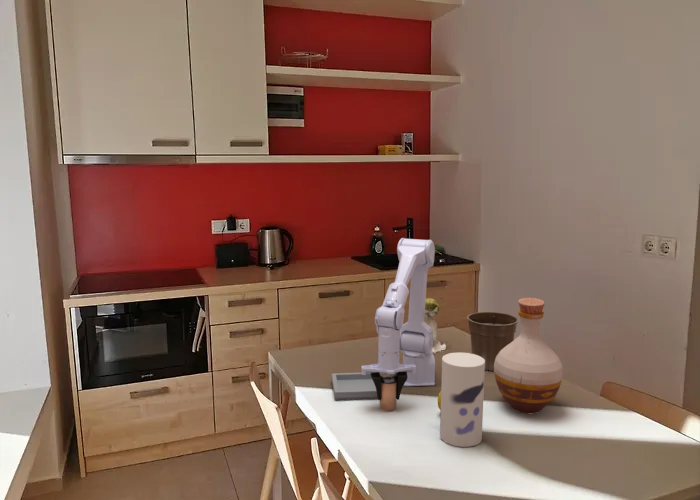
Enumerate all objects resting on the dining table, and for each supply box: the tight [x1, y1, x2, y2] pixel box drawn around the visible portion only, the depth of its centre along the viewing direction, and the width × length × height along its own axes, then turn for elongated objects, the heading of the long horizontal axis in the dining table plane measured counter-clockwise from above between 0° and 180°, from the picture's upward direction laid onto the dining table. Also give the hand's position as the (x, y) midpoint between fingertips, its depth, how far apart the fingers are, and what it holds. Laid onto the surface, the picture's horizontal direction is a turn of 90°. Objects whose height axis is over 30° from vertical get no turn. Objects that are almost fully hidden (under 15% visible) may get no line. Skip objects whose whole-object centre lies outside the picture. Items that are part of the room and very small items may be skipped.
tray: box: [331, 372, 378, 402], centre depth 166 cm, size 14×14×2 cm
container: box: [439, 352, 486, 448], centre depth 136 cm, size 10×10×20 cm
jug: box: [493, 297, 564, 414], centre depth 153 cm, size 20×18×30 cm
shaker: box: [379, 373, 397, 412], centre depth 153 cm, size 5×5×9 cm
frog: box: [419, 297, 447, 355], centre depth 202 cm, size 12×13×18 cm
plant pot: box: [466, 311, 519, 372], centre depth 186 cm, size 16×16×16 cm
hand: (388, 398), depth 153 cm, fingers closed on shaker, 4 cm apart
